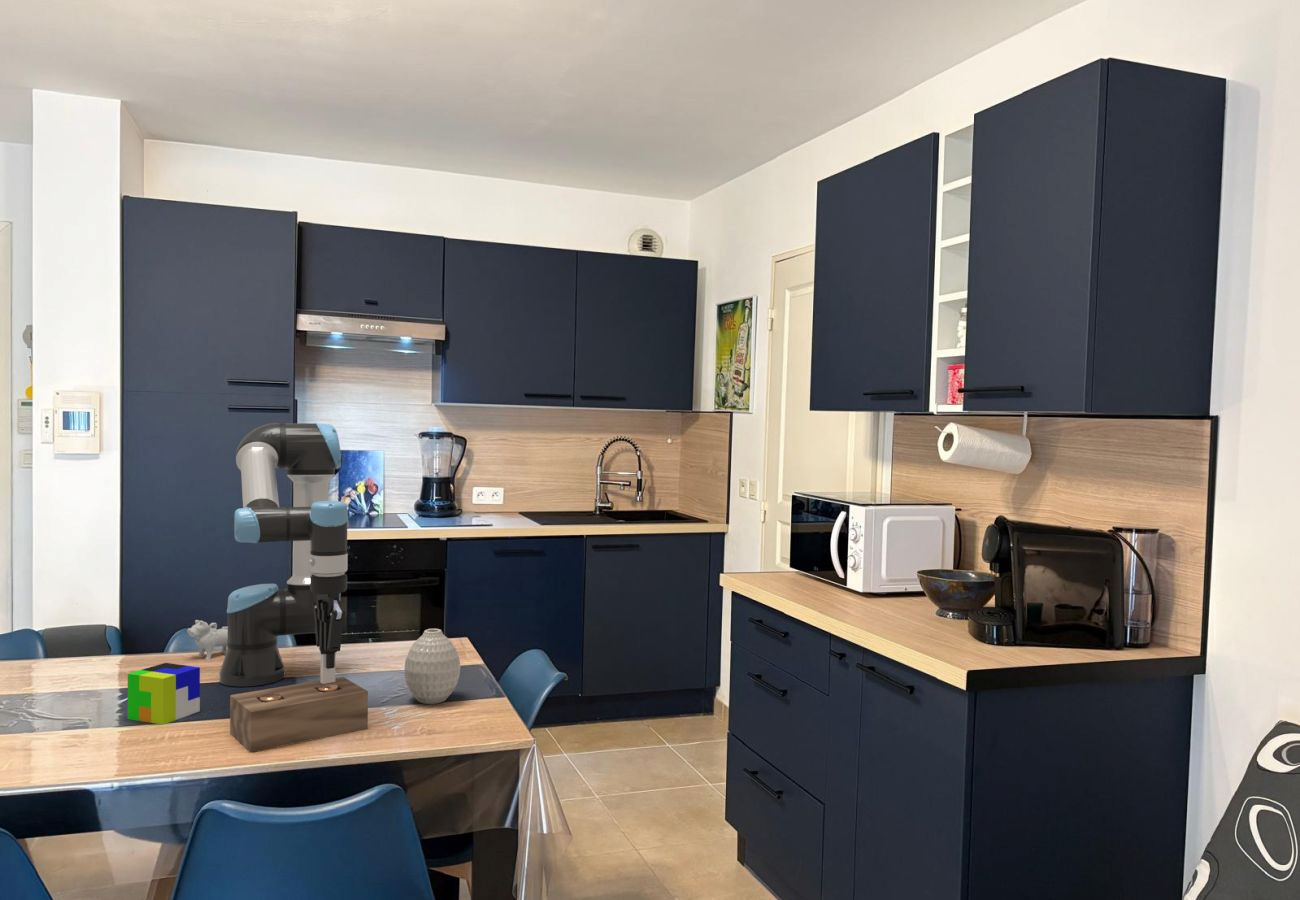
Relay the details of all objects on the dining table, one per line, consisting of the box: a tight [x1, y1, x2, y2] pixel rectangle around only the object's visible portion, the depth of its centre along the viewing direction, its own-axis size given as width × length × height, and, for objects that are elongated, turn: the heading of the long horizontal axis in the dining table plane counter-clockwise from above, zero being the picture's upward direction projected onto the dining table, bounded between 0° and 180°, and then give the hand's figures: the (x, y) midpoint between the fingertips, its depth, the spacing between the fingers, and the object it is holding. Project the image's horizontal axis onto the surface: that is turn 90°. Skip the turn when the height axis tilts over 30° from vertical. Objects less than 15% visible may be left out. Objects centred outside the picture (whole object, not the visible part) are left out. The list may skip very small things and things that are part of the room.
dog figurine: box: [186, 619, 228, 661], centre depth 254 cm, size 5×13×11 cm, turn 145°
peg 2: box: [318, 684, 338, 693], centre depth 199 cm, size 4×4×8 cm
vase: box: [403, 628, 461, 705], centre depth 218 cm, size 13×13×17 cm
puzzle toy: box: [127, 662, 201, 726], centre depth 204 cm, size 10×10×10 cm
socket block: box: [229, 676, 369, 753], centre depth 196 cm, size 14×24×8 cm, turn 130°
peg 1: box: [260, 694, 281, 703], centre depth 192 cm, size 4×4×8 cm
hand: (327, 681), depth 200 cm, fingers closed
